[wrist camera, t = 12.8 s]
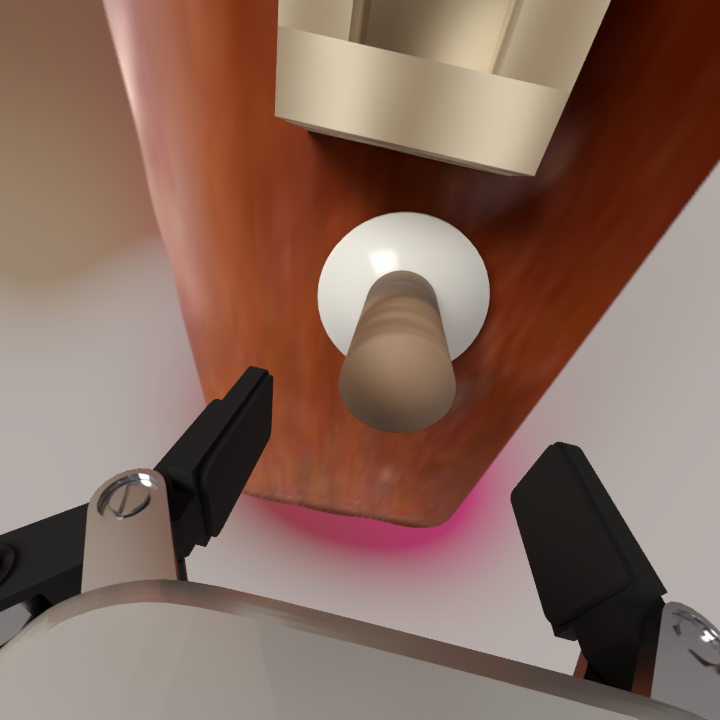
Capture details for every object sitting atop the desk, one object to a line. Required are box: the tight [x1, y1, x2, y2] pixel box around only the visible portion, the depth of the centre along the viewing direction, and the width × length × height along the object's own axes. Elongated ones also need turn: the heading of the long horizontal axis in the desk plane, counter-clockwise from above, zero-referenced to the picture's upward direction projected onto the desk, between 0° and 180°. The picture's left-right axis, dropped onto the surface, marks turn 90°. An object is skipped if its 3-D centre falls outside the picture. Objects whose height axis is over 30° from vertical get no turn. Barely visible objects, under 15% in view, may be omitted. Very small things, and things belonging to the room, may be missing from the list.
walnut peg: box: [339, 270, 456, 433], centre depth 17 cm, size 5×5×10 cm
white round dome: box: [318, 211, 490, 361], centre depth 22 cm, size 12×12×1 cm
